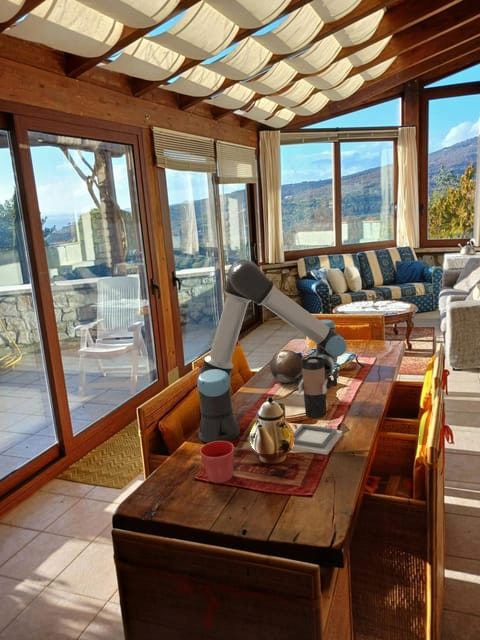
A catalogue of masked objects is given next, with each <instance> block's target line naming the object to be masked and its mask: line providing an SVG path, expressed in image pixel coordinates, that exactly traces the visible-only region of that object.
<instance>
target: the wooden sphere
mask: <svg viewBox="0 0 480 640" xmlns="http://www.w3.org/2000/svg"><path fill="white" fill-rule="evenodd" d="M269 366H270V367H269V368H270V371H271V375H272V376H273V378H274V379H276V380H277V381H279V382H280V383H283V384H286V383H287V384H289V383H292V382H293V383H294V382H295V377H296V376H297V375H298V374H299V373H300V372H301V370H302V358H301V357H300V355H299V354H298V353H296V352H295V351H293V350H289V349H283V350H280V351H278V352H276V353H275V354H274V355H273V357H272V358H271V360H270V364H269Z"/></svg>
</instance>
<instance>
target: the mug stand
mask: <svg viewBox="0 0 480 640" xmlns="http://www.w3.org/2000/svg"><path fill="white" fill-rule="evenodd" d="M293 432H294V438H295V439H294V446H293V449H292V450H295V451H301V452H307V453H311V454H312V453H314V454H320V455H325V456H328V454H329V453H330V451H331V450H332V449H333V447H334V446H335V445H336V443H337V442H338V440H339V439H340V438H341V436H342V435H343V430H339V429H337V428H331V427H326V426H318V425H317V426H316V425H311V424H310V425H309V424H300V425H299V426H298V427H297V428H296V429H295V430H294V431H293Z"/></svg>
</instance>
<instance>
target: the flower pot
mask: <svg viewBox="0 0 480 640" xmlns="http://www.w3.org/2000/svg"><path fill="white" fill-rule="evenodd" d="M199 454H200V457H201V461H202V464H203V468H204V470H205V472H206V473H205V474H206V476H207V479H208V481H209V482H211V483H214V484H223V483H226V482H228V481H230V480H231V479H232V477H233V475H234V461H235V459H234V458H235V446H234V444H233V443H232V442H230V441H228V442H227V441H214V442H210V443H206V444H204V445H203V446H201V448H200V449H199Z"/></svg>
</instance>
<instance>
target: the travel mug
mask: <svg viewBox="0 0 480 640" xmlns="http://www.w3.org/2000/svg"><path fill="white" fill-rule="evenodd" d="M301 360H302V373H303V390H302V393H303V401H304V402H303V403H304V410H305V416H306V417H307V418H309V419H313V420H314V419H321V418H325V417H327V392H326V393H325V394H323V388H322V386H323V384H324V382H325V369H324V359H323V358H322V357H317V355H316V356H315V355H313V356H308V357H307V358H305V359H304V358H301Z"/></svg>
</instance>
